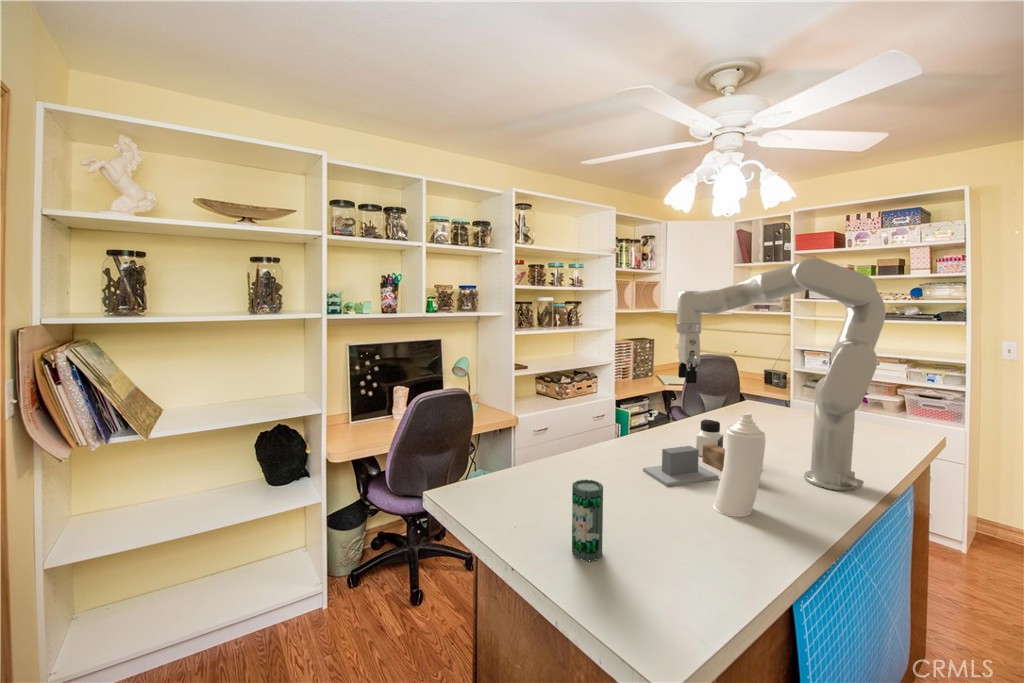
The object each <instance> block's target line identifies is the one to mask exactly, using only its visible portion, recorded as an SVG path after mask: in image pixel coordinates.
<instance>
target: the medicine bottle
mask: <svg viewBox="0 0 1024 683" xmlns="http://www.w3.org/2000/svg"><path fill="white" fill-rule="evenodd" d="M720 431H721V423H720V422H719V421H717V420H715V419H710V418H709V419H708V418H707V419H705V418H704V419H702V420H701V421H700V432H699V433H698V434H696V438H695V440H696V441H695V448H696V449H698V450H699V457H703V445H706V444H715V445H717V446H720V447H722V448H724V433H721V432H720Z"/></svg>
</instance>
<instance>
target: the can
mask: <svg viewBox="0 0 1024 683" xmlns="http://www.w3.org/2000/svg"><path fill="white" fill-rule="evenodd" d="M571 489H572V491H571V492H572V497H571V498H572V501H571V503H572V504H571V505H572V506H571V507H572V508H571V510H572V513H571V522H572V523H571V524H572V525H571V527H572V528H571V553H572V552H573V553H572V555H575V556H576V557H577V558H579V559H578V560H580V559H582V560H587V561H586V562H588V561H589V560H590V561H589V562H595V561H599V560H600V559H601V558H602V557H603V533H604V532H603V531H604V530H603V528H604V526H603V525H604V524H603V523H604V521H603V520H604V519H603V517H604V516H603V515H604V485H603V484H602V483H601V482H599V481H596V480H593V479H579V480H576V481H574V482H572V488H571ZM575 556H574V557H575ZM576 557H575V558H576ZM577 558H576V559H577ZM595 559H597V560H595ZM582 560H581V561H582ZM592 560H593V561H592Z"/></svg>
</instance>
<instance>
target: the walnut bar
mask: <svg viewBox="0 0 1024 683" xmlns="http://www.w3.org/2000/svg"><path fill="white" fill-rule="evenodd" d="M724 457H725V447H723V448H722V447H720V446H717V445H715V444H706V445H703V456H702V463H704V464H706V465H707V464H708V465H707V466H709V465H710V467H711V466H712V468H713V467H714V468H713V469H715V468H716V469H715V470H717V469H718V470H717V471H719V470H720V471H719V472H721V471H723V467H724Z"/></svg>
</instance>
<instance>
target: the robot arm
mask: <svg viewBox="0 0 1024 683" xmlns="http://www.w3.org/2000/svg"><path fill="white" fill-rule="evenodd" d="M808 290H809V291H812V292H814V293H817V294H820V296H821V295H822V296H824V297H826V298H830V299H832V300H834V301H837V302H840V303H841V304H843V306H844V307H845V310H846V314H845V319H844V322H843V325H842V329H841V330H840V333H839V336H838V337H837V340H836V343H834V344H835V345H834V347H833V348H832V350H831V353H830V364H829V367H828V370H827V372H826V375H825V376H824V377H821V379H819V380H818V381H817V383H816V385H815V388H814V409H813V410H814V411H813V413H814V414H813V428H812V430H813V431H812V443H811V444H812V446H811V460H810V463H811V464H810V470H807V471H805V472H804V480H805V481H807V482H808V483H810V484H812V485H814V484H815V486H817V487H820V488H823V487H824V489H828V490H832V489H833V490H834V491H842V492H843V491H844V492H845V491H846V492H847V490H848V491H853V490H856V489H857V490H861V489H862V487H863V485H864V480H862V479H860V478H856V472H855V471H853V470H852V463H853V462H852V460H853V450H854V448H853V447H854V434H855V423H856V422H855V420H856V419H855V416H856V410H857V409H859V407H860V406H861V404H862V403H863V400H864V398H865V396H866V393H867V391H868V389H869V386H870V384H871V382H872V379H873V377H874V375H875V373H876V370H877V368H878V367H877V366H878V355H877V353H876V352H875V348H876V345H877V342H878V341H879V338H880V334H881V332H882V329H883V326H884V324H885V319H886V306H885V302H884V299H883V297H882V296H881V294H880V293H879V291H878V286H877V283H876V282H875V280H874V279H873V278H872V277H870V276H869V275H867V274H864V273H861V272H859V271H856V270H852V269H850V268H847V267H844V266H842V265H841V266H840V265H838V264H835V263H832V262H829V261H828V260H825V259H822V258H819V257H807V258H803V259H802V260H799V261H798V262H794V263H791V264H788V265H784V266H781V267H779V268H775V269H773V270H768V271H766V272H762V273H758V274H756V275H754V276H752V277H751V278H749V279H747V280H744V281H741V282H739V283H736V284H733V285H730V286H727V287H724V288H720V289H713V290H712V289H711V290H706V291H698V290H682V291H680V292H678V294H677V304H676V305H677V308H676V309H677V312H676V334H678V348H677V355H678V356H677V358H678V376H677V377H678V378H679V379H683V378H684V379H685V383H686V384H697V378H698V376H697V374H698V365H699V364H700V363H701V340H700V339H701V338H700V335H701V334H702V320H703V319H702V318H703V317H702V316H703V314H708V315H709V314H710V315H718V314H720V313H724V312H728V311H731V310H734V309H735V310H736V309H737V308H741V307H745V306H749V305H752V304H759V303H766V302H769V301H772V300H777V299H779V298H783V297H786V296H790V295H795V294H797V293H800V292H801V293H802V292H804V291H805V292H806V291H808Z"/></svg>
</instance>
